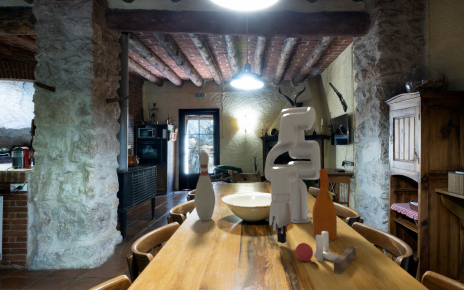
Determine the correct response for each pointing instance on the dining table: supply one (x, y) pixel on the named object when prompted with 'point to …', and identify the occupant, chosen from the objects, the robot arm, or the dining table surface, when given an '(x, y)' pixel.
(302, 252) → the ball
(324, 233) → the pin
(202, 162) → the bowling pin
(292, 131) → the robot arm
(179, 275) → the dining table surface
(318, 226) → the wine bottle
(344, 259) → the brown wooden block
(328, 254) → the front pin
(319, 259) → the pin
